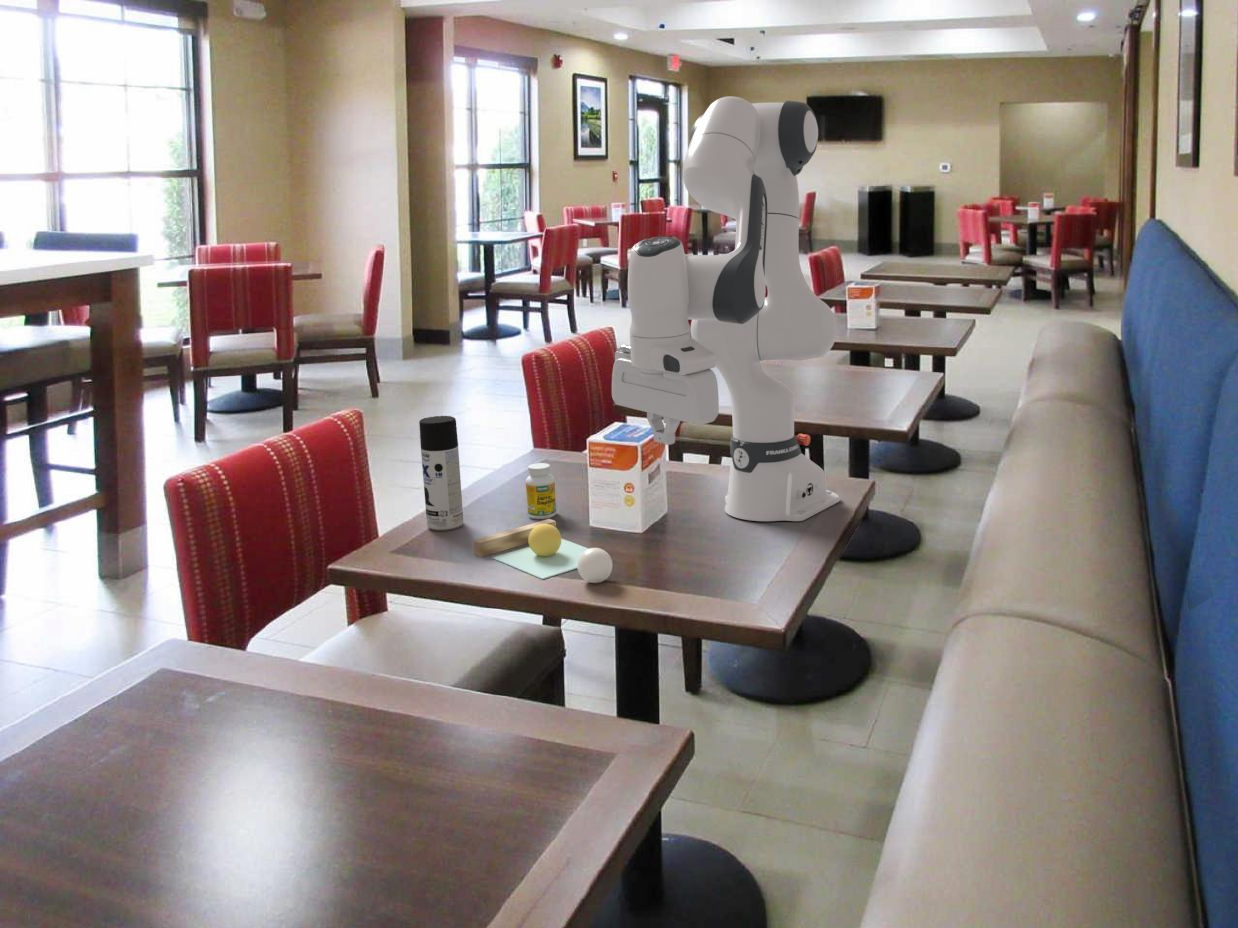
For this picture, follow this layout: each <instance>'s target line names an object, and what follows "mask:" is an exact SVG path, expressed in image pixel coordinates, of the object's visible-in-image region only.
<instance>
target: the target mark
mask: <svg viewBox="0 0 1238 928" xmlns="http://www.w3.org/2000/svg"><path fill="white" fill-rule="evenodd" d="M587 549H590V548H589V547H585V546H584V545H583V546H582V545H580V544H578V543H575V542H572V541H570V540H566V539H564V538H562V537H561V545H560V548H559V549H558V551H557V552H556V553H555V554H553V555H551V556H547V557H543V556H539V555H537V554H535V553H534V552H533V551H532V550H531V548H530V546H529V545H528V546H527V547H523V548H519V549H516V550H512V551H510V552H506V553H502V554H499V555H496V556H493V557H492V560H495V561H497V562H499V563H502V564H504V565H507V566H509V567H512V568H513V569H517V570H519V571H521V572H524V573H526V574H528V575H530V576H532V577H535V578H537V579H540V580H542V581H543V580H545V579H549V578H552V577H555V576H559V575H562V574H564V573H567V572H570V571H573V570H576V569H577V570H578V568H577V563H578V559H579V557H580V555H581V554H582V553H583V552H584V551H586V550H587Z"/></svg>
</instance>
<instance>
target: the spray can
mask: <svg viewBox="0 0 1238 928" xmlns="http://www.w3.org/2000/svg"><path fill="white" fill-rule="evenodd" d="M418 423H419V439H420V440H419V442H420V455H421V456H420V457H421V466H422V477H423V490H424V503H425V514H426V515H425V516H426V525H427V527H428V528H429V530H432V531H434V532H448V531H449V532H450V531H453V530H458V529H459V528H461V527H462V526H463V525H464V511H463V497H462V496H463V494H462V483H461V482H462V480H461V470H460V469H461V468H460V453H459V452H460V451H459V441H458V429H457V420H456V418H455V417H453V416H451V415H436V416H428V417H423V418H421V419H420V420H419V422H418Z"/></svg>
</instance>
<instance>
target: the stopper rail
mask: <svg viewBox="0 0 1238 928" xmlns="http://www.w3.org/2000/svg"><path fill="white" fill-rule="evenodd" d="M540 524H550V525H552V526H554V527H556V528H557V521H556V520H553V519H551V518H547V519H542V520H540V521H537V522H532V523H530V524H527V525H522V526H519V527H516V528H513V529H508V530H505V531H501V532H498V533H494V534H491V535H487V536H484V537H479V538H477V539H473V540H472V542H473V552H474V553H473V554H474V555H475V556H476V557H477V556H478V557H480V558H482V557H486V556H490V555H492V554H493V555H494V554H496V553H500V552H503V551H506V550H510V549H512V548H516V547H520V546H523V545H526V544H529V541H528V539H529V534H530V532H531V531H532V529H533V528H534V527H536V526H537V525H540Z"/></svg>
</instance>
